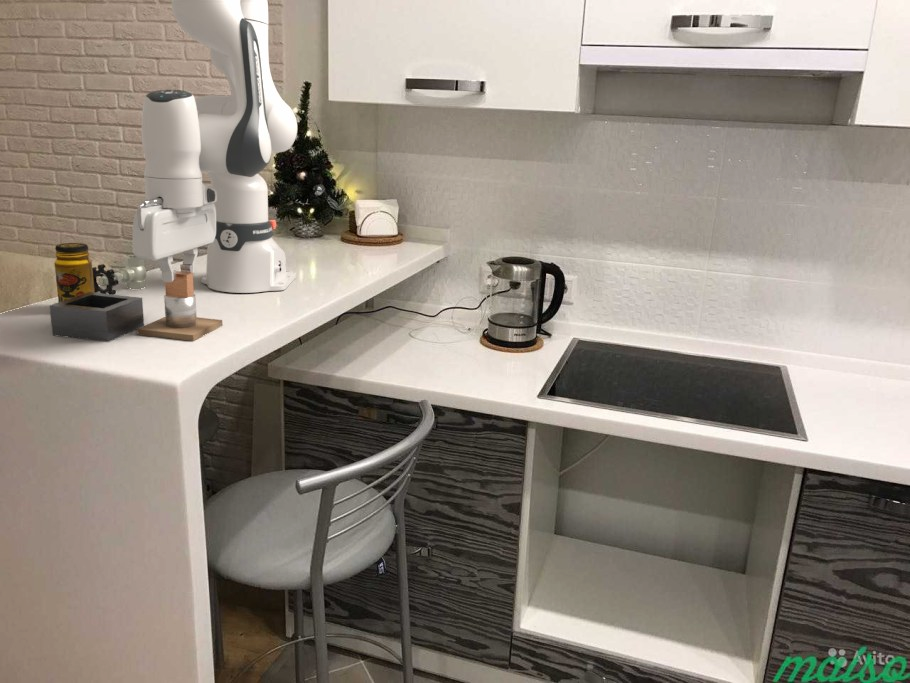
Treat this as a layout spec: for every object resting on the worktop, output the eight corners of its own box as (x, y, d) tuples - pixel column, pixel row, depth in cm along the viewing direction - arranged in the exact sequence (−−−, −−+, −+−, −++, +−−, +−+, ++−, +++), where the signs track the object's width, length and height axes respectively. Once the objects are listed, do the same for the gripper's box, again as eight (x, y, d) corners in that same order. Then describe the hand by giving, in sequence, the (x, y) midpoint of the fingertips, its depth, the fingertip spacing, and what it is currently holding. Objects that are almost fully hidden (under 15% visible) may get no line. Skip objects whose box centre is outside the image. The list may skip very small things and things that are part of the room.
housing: (91, 319, 132) (89, 292, 130) (144, 325, 130) (142, 297, 129) (52, 335, 122) (49, 305, 121) (108, 341, 121) (105, 311, 119)
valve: (130, 284, 159) (88, 296, 148) (127, 253, 157) (85, 263, 146) (156, 287, 157) (116, 300, 146) (154, 256, 155) (114, 266, 144)
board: (170, 319, 135) (170, 314, 134) (222, 325, 133) (222, 320, 133) (137, 334, 125) (137, 328, 125) (193, 341, 124) (193, 335, 123)
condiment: (58, 315, 133) (51, 248, 130) (53, 304, 140) (47, 240, 137) (103, 312, 137) (97, 247, 134) (96, 301, 144) (91, 239, 141)
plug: (175, 319, 132) (172, 268, 129) (202, 322, 131) (199, 271, 128) (159, 326, 127) (156, 274, 124) (187, 329, 126) (184, 276, 124)
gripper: (156, 202, 112) (162, 293, 116) (221, 190, 132) (224, 268, 136) (118, 199, 113) (124, 289, 117) (188, 188, 133) (192, 265, 137)
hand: (178, 277), depth 127 cm, fingers open, 4 cm apart
